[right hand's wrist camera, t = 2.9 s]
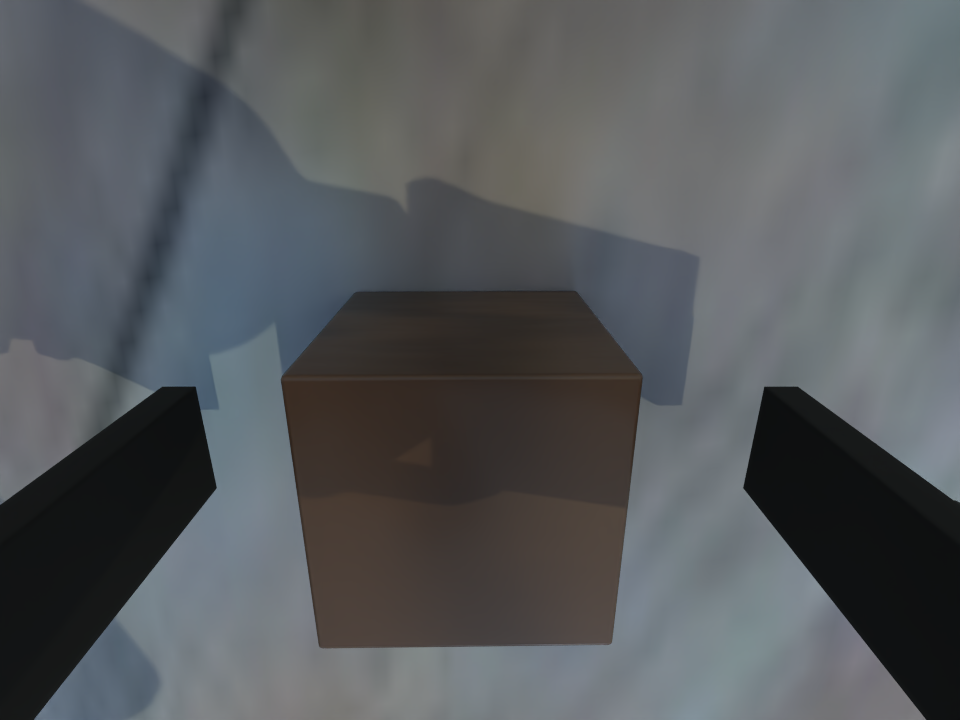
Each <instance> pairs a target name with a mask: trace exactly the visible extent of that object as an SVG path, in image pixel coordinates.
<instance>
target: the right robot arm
mask: <svg viewBox="0 0 960 720" xmlns="http://www.w3.org/2000/svg"><path fill="white" fill-rule="evenodd" d="M216 488H217V487H216V482H215V477H214V473H213V468H212V463H211V458H210V454H209V449H208V444H207V439H206V434H205V430H204V425H203V420H202V415H201V411H200V406H199V401H198V396H197V391H196V387H161V388H160V389H159V390H157V391H156V392H154V393H153V394H152V395H150V396H149V397H148V398H146V399H145V400H144V401H142V402H141V403H139V404H138V405H137V406H135V407H134V408H133V409H131V410H130V411H128V412H127V413H126V414H124V415H123V416H122V417H120V418H119V419H117V420H116V421H115V422H113V423H112V424H111V425H109V426H108V427H107V428H105V429H104V430H102V431H101V432H100V433H98V434H97V435H96V436H94V437H93V438H91V439H90V440H89V441H87V442H86V443H85V444H83V445H82V446H81V447H79V448H78V449H76V450H75V451H74V452H72V453H71V454H70V455H68V456H67V457H65V458H64V459H63V460H61V461H60V462H59V463H57V464H56V465H54V466H53V467H52V468H50V469H49V470H48V471H46V472H45V473H44V474H42V475H41V476H39V477H38V478H37V479H35V480H34V481H33V482H31V483H30V484H28V485H27V486H26V487H24V488H23V489H22V490H20V491H19V492H17V493H16V494H15V495H13V496H12V497H11V498H9V499H8V500H7V501H5V502H4V503H2V504H1V505H0V720H34V719H35V717H36V716H37V715H38V714H39V712H40V711H41V710H42V708H43V707H44V706H45V705H46V703H47V702H48V701H49V700H50V698H51V697H52V696H53V695H54V693H55V692H56V691H57V689H58V688H59V687H60V686H61V684H62V683H63V682H64V681H65V679H66V678H67V677H68V676H69V674H70V673H71V672H72V670H73V669H74V668H75V667H76V665H77V664H78V663H79V662H80V660H81V659H82V658H83V657H84V655H85V654H86V653H87V652H88V650H89V649H90V648H91V646H92V645H93V644H94V643H95V641H96V640H97V639H98V638H99V636H100V635H101V634H102V633H103V631H104V630H105V629H106V627H107V626H108V625H109V624H110V622H111V621H112V620H113V619H114V617H115V616H116V615H117V614H118V612H119V611H120V610H121V608H122V607H123V606H124V605H125V603H126V602H127V601H128V600H129V598H130V597H131V596H132V595H133V593H134V592H135V591H136V590H137V588H138V587H139V586H140V584H141V583H142V582H143V581H144V579H145V578H146V577H147V576H148V574H149V573H150V572H151V571H152V569H153V568H154V567H155V565H156V564H157V563H158V562H159V560H160V559H161V558H162V557H163V555H164V554H165V553H166V552H167V550H168V549H169V548H170V546H171V545H172V544H173V543H174V541H175V540H176V539H177V538H178V536H179V535H180V534H181V533H182V531H183V530H184V529H185V528H186V526H187V525H188V524H189V522H190V521H191V520H192V519H193V517H194V516H195V515H196V514H197V512H198V511H199V510H200V509H201V507H202V506H203V505H204V503H205V502H206V501H207V500H208V498H209V497H210V496H211V495H212V493H213V492H214V491H215V490H216ZM743 488H744V490H745V491H746V492H747V493H748V495H749V496H750V497H751V498H752V500H753V501H754V502H755V503H756V505H757V506H758V507H759V509H760V510H761V511H762V512H763V514H764V515H765V516H766V517H767V519H768V520H769V521H770V522H771V524H772V525H773V526H774V528H775V529H776V530H777V531H778V533H779V534H780V535H781V536H782V538H783V539H784V540H785V541H786V543H787V544H788V545H789V546H790V548H791V549H792V550H793V552H794V553H795V554H796V555H797V557H798V558H799V559H800V560H801V562H802V563H803V564H804V565H805V567H806V568H807V569H808V571H809V572H810V573H811V574H812V576H813V577H814V578H815V579H816V581H817V582H818V583H819V584H820V586H821V587H822V588H823V590H824V591H825V592H826V593H827V595H828V596H829V597H830V598H831V600H832V601H833V602H834V603H835V605H836V606H837V607H838V608H839V610H840V611H841V612H842V614H843V615H844V616H845V617H846V619H847V620H848V621H849V622H850V624H851V625H852V626H853V627H854V629H855V630H856V631H857V633H858V634H859V635H860V636H861V638H862V639H863V640H864V641H865V643H866V644H867V645H868V646H869V648H870V649H871V650H872V652H873V653H874V654H875V655H876V657H877V658H878V659H879V660H880V662H881V663H882V664H883V665H884V667H885V668H886V669H887V670H888V672H889V673H890V674H891V676H892V677H893V678H894V679H895V681H896V682H897V683H898V684H899V686H900V687H901V688H902V689H903V691H904V692H905V693H906V695H907V696H908V697H909V698H910V700H911V701H912V702H913V703H914V705H915V706H916V707H917V708H918V710H919V711H920V712H921V714H922V715H923V716H924V717H925V719H926V720H960V503H959V502H957V501H953V500H952V499H951V498H949V497H948V496H947V495H945V494H944V493H943V492H941V491H940V490H938V489H937V488H936V487H934V486H933V485H932V484H930V483H929V482H927V481H926V480H925V479H923V478H922V477H921V476H919V475H918V474H916V473H915V472H914V471H912V470H911V469H910V468H908V467H907V466H906V465H904V464H903V463H901V462H900V461H899V460H897V459H896V458H895V457H893V456H892V455H890V454H889V453H888V452H886V451H885V450H884V449H882V448H881V447H879V446H878V445H877V444H875V443H874V442H873V441H871V440H870V439H869V438H867V437H866V436H864V435H863V434H862V433H860V432H859V431H858V430H856V429H855V428H853V427H852V426H851V425H849V424H848V423H847V422H845V421H844V420H843V419H841V418H840V417H838V416H837V415H836V414H834V413H833V412H832V411H830V410H829V409H827V408H826V407H825V406H823V405H822V404H821V403H819V402H818V401H816V400H815V399H814V398H812V397H811V396H810V395H808V394H807V393H806V392H804V391H803V390H801V389H800V388H799V387H764V391H763V396H762V401H761V406H760V411H759V415H758V420H757V425H756V430H755V434H754V439H753V444H752V449H751V454H750V458H749V463H748V468H747V473H746V477H745V482H744V487H743Z"/></svg>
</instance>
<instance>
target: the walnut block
mask: <svg viewBox="0 0 960 720" xmlns="http://www.w3.org/2000/svg"><path fill="white" fill-rule="evenodd" d="M642 379H643V377H642V374H641V373H640V371H639V370H638V369H637V368H636V366H635V365H634V364H633V363H632V361H631V360H630V359H629V358H628V356H627V355H626V354H625V352H624V351H623V350H622V349H621V347H620V346H619V345H618V344H617V342H616V341H615V340H614V339H613V337H612V336H611V335H610V333H609V332H608V331H607V330H606V328H605V327H604V326H603V325H602V323H601V322H600V321H599V320H598V318H597V317H596V316H595V314H594V313H593V312H592V311H591V309H590V308H589V307H588V306H587V304H586V303H585V302H584V301H583V299H582V298H581V297H580V295H579V294H578V293H577V292H575V291H501V292H356V293H354V294H353V295H352V297H351V298H350V299H349V300H348V301H347V302H346V303H345V305H344V306H343V307H342V308H341V309H340V310H339V311H338V313H337V314H336V315H335V316H334V317H333V318H332V319H331V321H330V322H329V323H328V324H327V325H326V326H325V327H324V329H323V330H322V331H321V332H320V333H319V334H318V335H317V337H316V338H315V339H314V340H313V341H312V342H311V344H310V345H309V346H308V347H307V348H306V349H305V350H304V352H303V353H302V354H301V355H300V356H299V357H298V358H297V360H296V361H295V362H294V363H293V364H292V365H291V366H290V368H289V369H288V370H287V371H286V372H285V373H284V374H283V376H282V378H281V384H282V391H283V398H284V405H285V412H286V419H287V426H288V433H289V440H290V447H291V454H292V461H293V468H294V475H295V482H296V489H297V496H298V503H299V510H300V517H301V524H302V531H303V538H304V545H305V552H306V559H307V566H308V573H309V580H310V587H311V594H312V601H313V608H314V615H315V622H316V629H317V636H318V643H319V647H320V648H385V647H466V646H547V645H609V644H611V643H612V637H613V629H614V620H615V611H616V603H617V594H618V586H619V577H620V568H621V560H622V551H623V543H624V534H625V525H626V517H627V508H628V500H629V491H630V483H631V474H632V465H633V457H634V448H635V440H636V431H637V422H638V414H639V405H640V397H641V388H642Z"/></svg>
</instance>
